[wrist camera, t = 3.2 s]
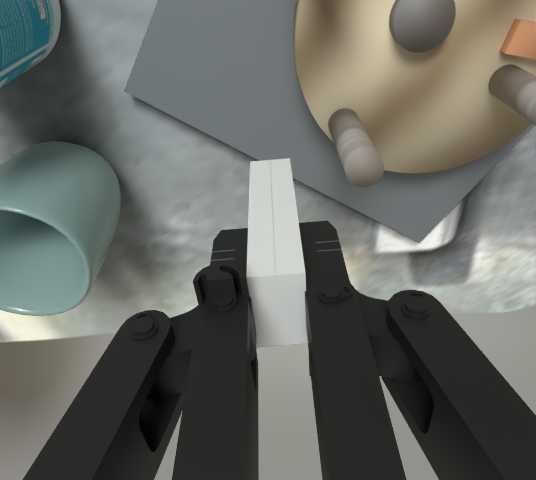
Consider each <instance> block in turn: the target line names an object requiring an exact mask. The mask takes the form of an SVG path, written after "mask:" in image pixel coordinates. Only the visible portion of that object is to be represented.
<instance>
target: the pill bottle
mask: <svg viewBox="0 0 536 480" xmlns="http://www.w3.org/2000/svg"><path fill="white" fill-rule="evenodd" d="M60 24H61V12H60V4H59V0H0V88H2V87H3V86H5V85H6V84H8V83H9V82H11V81H12V80H14V79H15V78H17V77H18V76H20V75H21V74H23V73H24V72H26V71H27V70H29V69H30V68H32V67H33V66H35V65H36V64H38V63H39V62H41V61H42V60H43V59H44V58H45V57H46V56H47V55H48V54H49V53H50V52H51V50H52V49H53V47H54V45H55V43H56V41H57V39H58V35H59V31H60Z"/></svg>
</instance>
